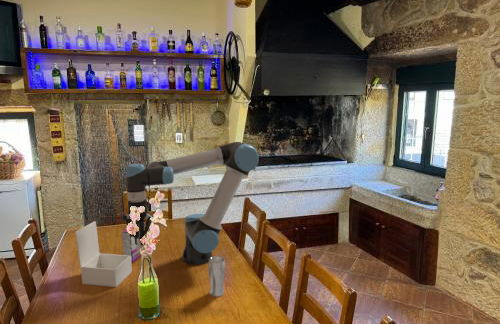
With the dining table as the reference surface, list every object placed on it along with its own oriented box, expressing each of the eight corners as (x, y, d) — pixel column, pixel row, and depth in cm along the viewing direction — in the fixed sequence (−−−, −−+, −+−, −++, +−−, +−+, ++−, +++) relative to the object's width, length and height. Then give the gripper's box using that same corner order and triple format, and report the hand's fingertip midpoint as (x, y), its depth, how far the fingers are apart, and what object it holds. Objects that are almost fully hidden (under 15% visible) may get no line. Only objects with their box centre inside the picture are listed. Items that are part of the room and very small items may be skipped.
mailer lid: (95, 221, 162) (94, 221, 162) (76, 232, 148) (74, 231, 148) (99, 253, 165) (98, 252, 165) (80, 266, 151) (79, 266, 151)
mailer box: (131, 271, 163) (131, 255, 162) (116, 287, 150) (115, 269, 148) (100, 268, 166) (99, 253, 165) (82, 283, 152) (80, 266, 151)
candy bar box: (134, 253, 183) (133, 223, 180) (143, 254, 182) (141, 224, 179) (123, 263, 172) (121, 231, 169) (132, 264, 171) (130, 232, 168)
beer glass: (206, 291, 147) (205, 257, 145) (221, 287, 151) (220, 254, 148) (212, 299, 141) (212, 264, 139) (228, 294, 145) (227, 261, 142)
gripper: (118, 201, 146) (122, 254, 151) (147, 203, 144) (150, 256, 149) (127, 197, 154) (130, 247, 158) (155, 198, 152) (158, 249, 156)
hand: (140, 251), depth 153 cm, fingers closed
